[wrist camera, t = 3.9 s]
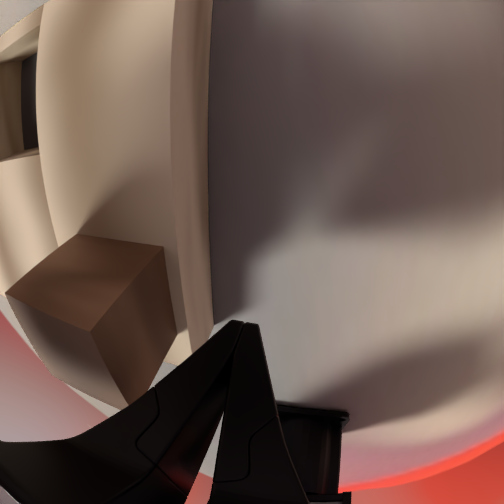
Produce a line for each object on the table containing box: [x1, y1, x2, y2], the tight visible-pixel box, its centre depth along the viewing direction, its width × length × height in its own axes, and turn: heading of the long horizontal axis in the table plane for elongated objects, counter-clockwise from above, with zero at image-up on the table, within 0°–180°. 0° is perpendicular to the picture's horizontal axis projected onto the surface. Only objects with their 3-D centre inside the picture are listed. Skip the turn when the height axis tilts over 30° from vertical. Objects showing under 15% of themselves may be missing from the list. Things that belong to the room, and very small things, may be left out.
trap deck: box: [0, 0, 214, 366], centre depth 11 cm, size 22×16×3 cm
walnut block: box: [5, 234, 178, 410], centre depth 8 cm, size 4×4×4 cm
